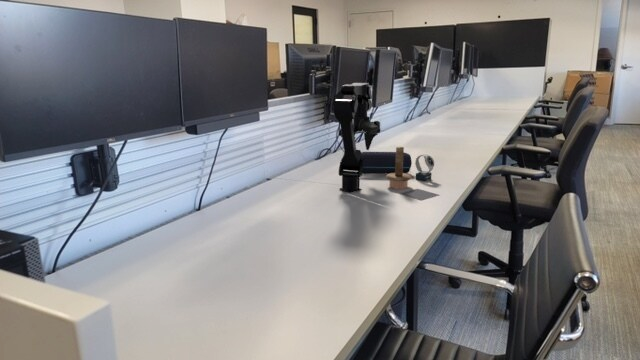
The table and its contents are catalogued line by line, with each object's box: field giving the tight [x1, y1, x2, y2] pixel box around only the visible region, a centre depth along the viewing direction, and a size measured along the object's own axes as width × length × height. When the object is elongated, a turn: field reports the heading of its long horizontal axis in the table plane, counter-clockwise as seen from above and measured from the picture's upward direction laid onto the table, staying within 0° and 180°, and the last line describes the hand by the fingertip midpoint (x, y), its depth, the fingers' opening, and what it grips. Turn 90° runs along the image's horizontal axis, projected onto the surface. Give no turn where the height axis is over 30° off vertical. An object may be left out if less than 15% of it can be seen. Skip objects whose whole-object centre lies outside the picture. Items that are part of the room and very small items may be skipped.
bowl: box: [388, 180, 409, 190], centre depth 182 cm, size 7×7×4 cm
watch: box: [414, 153, 435, 182], centre depth 192 cm, size 6×8×11 cm
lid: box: [385, 146, 412, 182], centre depth 180 cm, size 10×10×12 cm
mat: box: [398, 188, 440, 202], centre depth 172 cm, size 11×11×1 cm
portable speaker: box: [361, 151, 413, 175], centre depth 204 cm, size 25×10×10 cm, turn 86°
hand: (359, 151), depth 189 cm, fingers open, 9 cm apart
